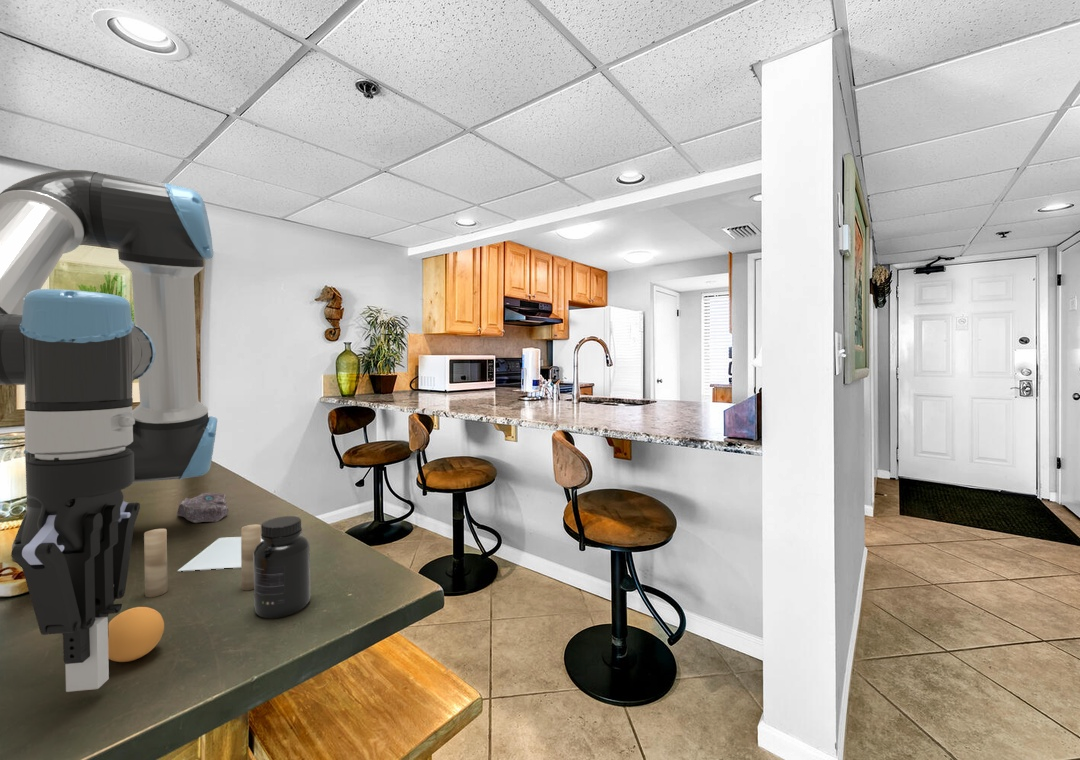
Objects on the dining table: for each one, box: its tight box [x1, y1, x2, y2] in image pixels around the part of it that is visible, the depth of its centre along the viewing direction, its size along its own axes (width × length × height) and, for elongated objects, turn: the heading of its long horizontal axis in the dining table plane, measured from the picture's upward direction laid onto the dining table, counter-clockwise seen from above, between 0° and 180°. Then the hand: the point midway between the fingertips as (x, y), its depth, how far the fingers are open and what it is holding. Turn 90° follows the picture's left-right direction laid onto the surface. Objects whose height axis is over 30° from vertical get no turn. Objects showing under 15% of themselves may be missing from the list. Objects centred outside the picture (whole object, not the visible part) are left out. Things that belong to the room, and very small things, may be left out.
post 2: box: [240, 524, 262, 591], centre depth 70 cm, size 2×2×9 cm
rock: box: [176, 492, 229, 524], centre depth 100 cm, size 8×11×5 cm
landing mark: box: [177, 536, 263, 573], centre depth 83 cm, size 14×14×1 cm
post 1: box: [143, 528, 168, 598], centre depth 67 cm, size 2×2×9 cm
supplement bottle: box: [253, 515, 311, 619], centre depth 64 cm, size 7×7×12 cm
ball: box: [108, 606, 165, 663], centre depth 53 cm, size 6×6×6 cm
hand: (87, 684), depth 47 cm, fingers closed
